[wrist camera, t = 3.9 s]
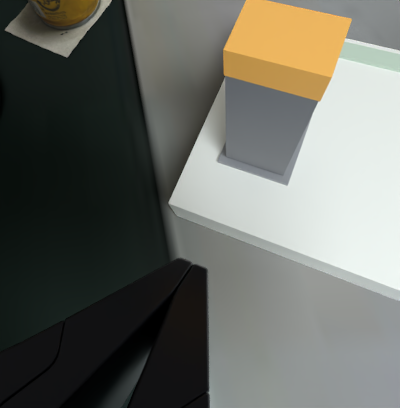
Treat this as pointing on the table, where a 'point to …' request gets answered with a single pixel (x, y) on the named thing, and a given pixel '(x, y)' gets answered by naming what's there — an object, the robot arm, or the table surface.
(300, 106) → the orange-capped grey pillar
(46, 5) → the condiment
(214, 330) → the table surface
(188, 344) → the robot arm
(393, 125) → the box
